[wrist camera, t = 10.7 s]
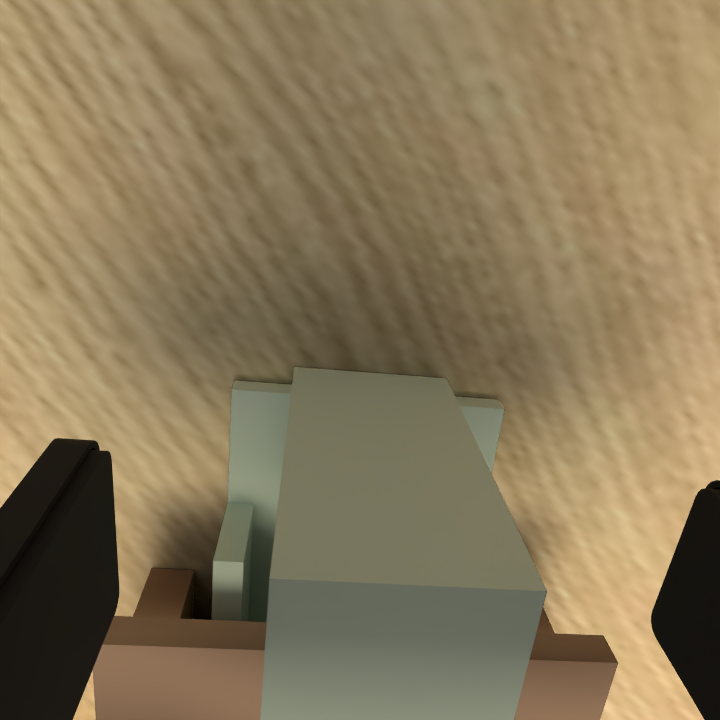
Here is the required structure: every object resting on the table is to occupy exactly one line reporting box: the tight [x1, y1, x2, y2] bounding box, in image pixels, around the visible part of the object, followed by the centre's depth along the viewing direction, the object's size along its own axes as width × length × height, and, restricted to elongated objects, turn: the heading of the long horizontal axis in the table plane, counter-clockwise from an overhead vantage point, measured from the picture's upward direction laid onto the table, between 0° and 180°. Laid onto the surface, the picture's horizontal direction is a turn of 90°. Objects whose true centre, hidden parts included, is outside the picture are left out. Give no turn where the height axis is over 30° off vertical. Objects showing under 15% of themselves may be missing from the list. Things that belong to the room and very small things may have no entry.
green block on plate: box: [212, 367, 547, 720], centre depth 14 cm, size 10×7×8 cm
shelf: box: [93, 568, 618, 720], centre depth 17 cm, size 9×11×5 cm
